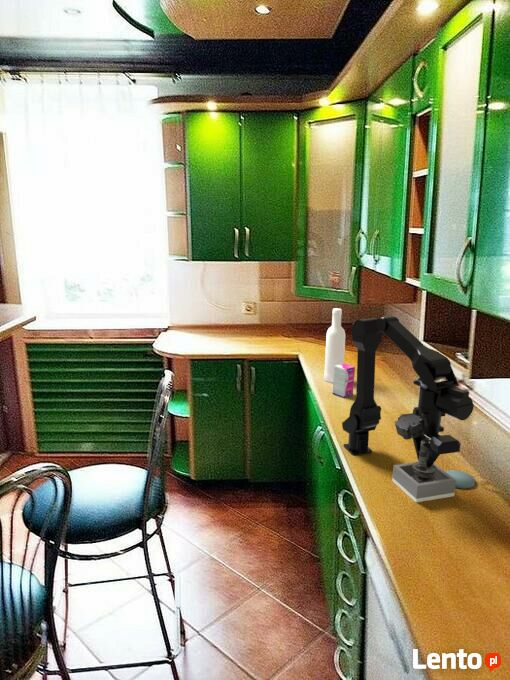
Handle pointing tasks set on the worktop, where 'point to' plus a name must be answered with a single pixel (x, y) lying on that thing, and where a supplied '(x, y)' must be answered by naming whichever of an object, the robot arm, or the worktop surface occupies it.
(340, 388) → the supplement box
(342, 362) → the bottle
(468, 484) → the slate coaster
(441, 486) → the grey square tray
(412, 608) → the worktop surface
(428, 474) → the salt shaker
